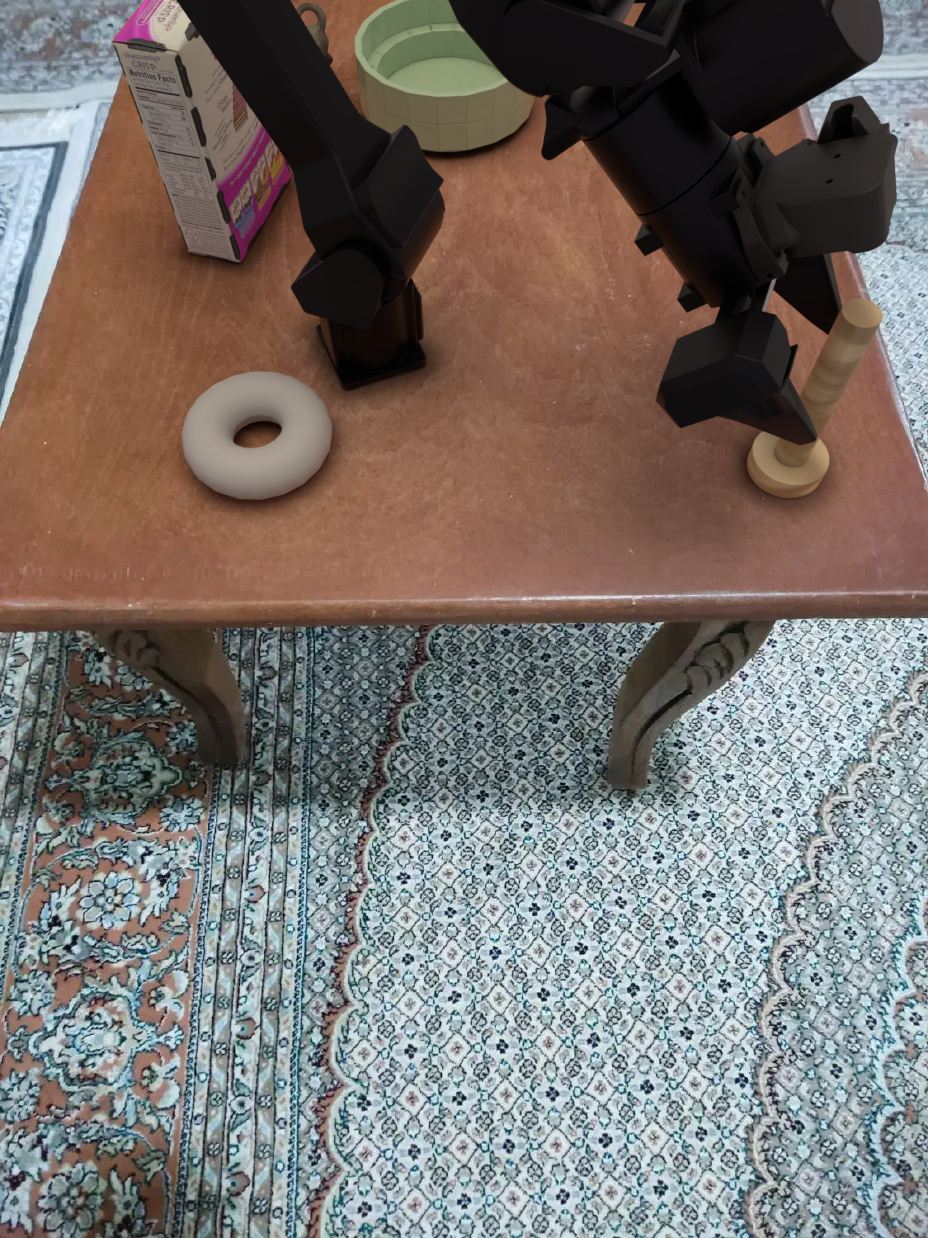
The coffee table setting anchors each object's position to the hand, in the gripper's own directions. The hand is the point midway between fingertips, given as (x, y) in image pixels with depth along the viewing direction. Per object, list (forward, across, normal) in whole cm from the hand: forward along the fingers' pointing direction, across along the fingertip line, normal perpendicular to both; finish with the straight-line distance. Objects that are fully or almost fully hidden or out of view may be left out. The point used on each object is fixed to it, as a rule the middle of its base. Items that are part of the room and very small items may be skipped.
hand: (824, 384), depth 52 cm
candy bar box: (-27, +10, +38) cm, 48 cm away
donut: (-18, -11, +29) cm, 36 cm away
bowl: (-20, +29, +31) cm, 47 cm away
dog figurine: (-31, +25, +42) cm, 58 cm away
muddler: (+6, 0, +6) cm, 8 cm away
